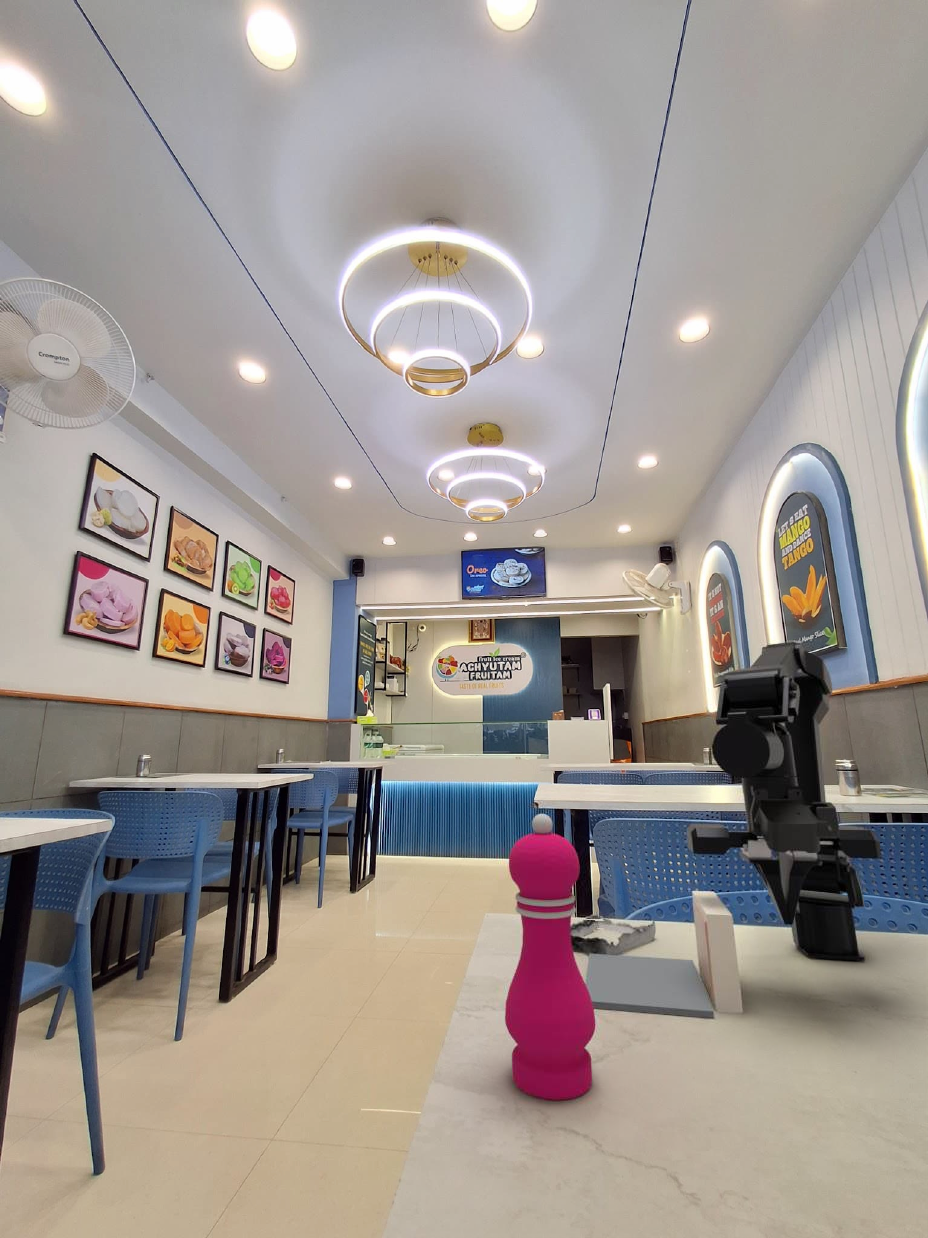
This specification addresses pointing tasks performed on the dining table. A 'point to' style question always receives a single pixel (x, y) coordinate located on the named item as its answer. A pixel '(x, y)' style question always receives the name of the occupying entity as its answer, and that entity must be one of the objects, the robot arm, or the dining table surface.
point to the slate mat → (647, 985)
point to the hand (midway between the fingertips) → (787, 924)
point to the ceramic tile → (717, 951)
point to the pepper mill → (548, 972)
